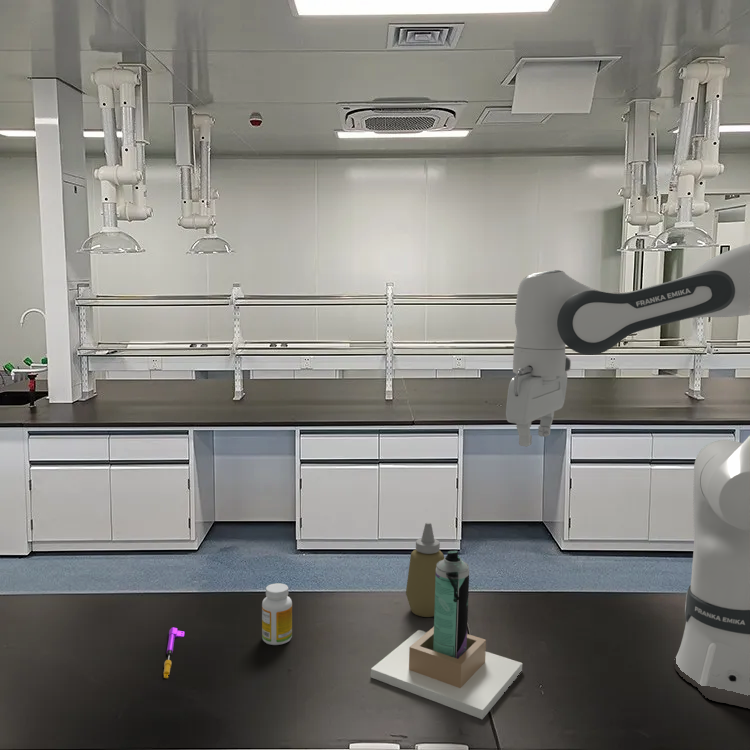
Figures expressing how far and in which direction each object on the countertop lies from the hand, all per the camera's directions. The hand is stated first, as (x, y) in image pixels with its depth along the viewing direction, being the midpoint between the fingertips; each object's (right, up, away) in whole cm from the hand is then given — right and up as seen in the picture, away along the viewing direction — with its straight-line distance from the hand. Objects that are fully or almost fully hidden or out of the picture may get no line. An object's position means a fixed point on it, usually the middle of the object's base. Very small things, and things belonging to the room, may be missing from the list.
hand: (534, 440), depth 127 cm
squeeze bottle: (-18, -35, +14) cm, 42 cm away
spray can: (-16, -37, -9) cm, 41 cm away
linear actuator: (-63, -37, -3) cm, 74 cm away
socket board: (-16, -38, -8) cm, 42 cm away
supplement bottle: (-46, -36, +2) cm, 59 cm away
